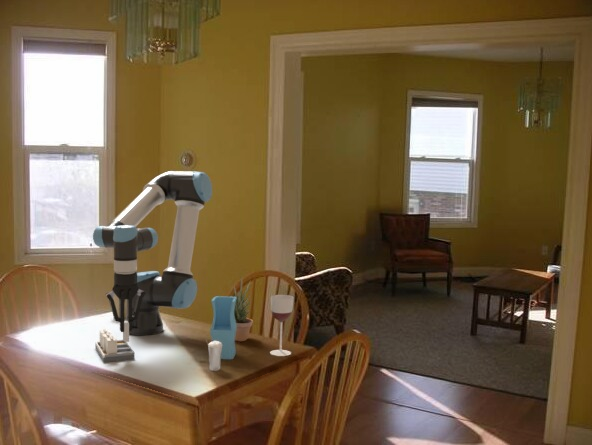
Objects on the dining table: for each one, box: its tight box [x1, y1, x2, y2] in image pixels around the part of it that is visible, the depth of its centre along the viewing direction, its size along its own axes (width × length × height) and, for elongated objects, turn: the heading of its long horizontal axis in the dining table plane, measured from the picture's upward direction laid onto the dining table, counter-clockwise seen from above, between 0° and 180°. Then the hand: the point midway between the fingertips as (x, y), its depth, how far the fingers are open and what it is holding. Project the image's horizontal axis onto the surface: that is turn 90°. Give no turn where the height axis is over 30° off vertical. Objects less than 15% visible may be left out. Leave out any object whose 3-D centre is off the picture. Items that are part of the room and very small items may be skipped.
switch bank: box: [94, 339, 135, 363], centre depth 213 cm, size 10×17×2 cm, turn 26°
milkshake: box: [205, 339, 222, 372], centre depth 199 cm, size 4×5×10 cm
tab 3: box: [106, 336, 118, 354], centre depth 207 cm, size 3×4×5 cm
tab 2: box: [102, 333, 114, 350], centre depth 211 cm, size 3×4×5 cm
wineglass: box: [269, 294, 295, 357], centre depth 219 cm, size 8×9×20 cm
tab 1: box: [99, 328, 111, 346], centre depth 216 cm, size 3×4×5 cm
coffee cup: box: [113, 293, 127, 320], centre depth 265 cm, size 9×9×12 cm
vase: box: [209, 295, 237, 360], centre depth 214 cm, size 8×8×20 cm
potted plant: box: [230, 276, 254, 342], centre depth 236 cm, size 10×10×25 cm
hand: (126, 340), depth 210 cm, fingers closed
